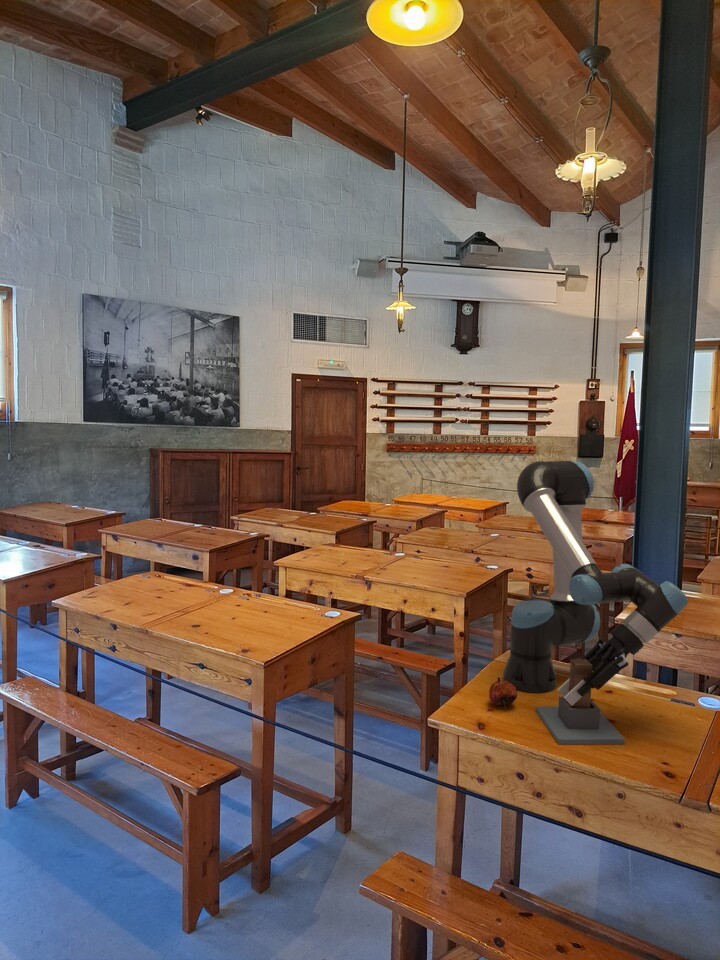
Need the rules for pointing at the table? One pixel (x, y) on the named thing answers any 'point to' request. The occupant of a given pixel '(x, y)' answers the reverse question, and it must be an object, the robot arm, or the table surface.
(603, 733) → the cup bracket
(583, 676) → the walnut rail post
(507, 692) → the pomegranate
